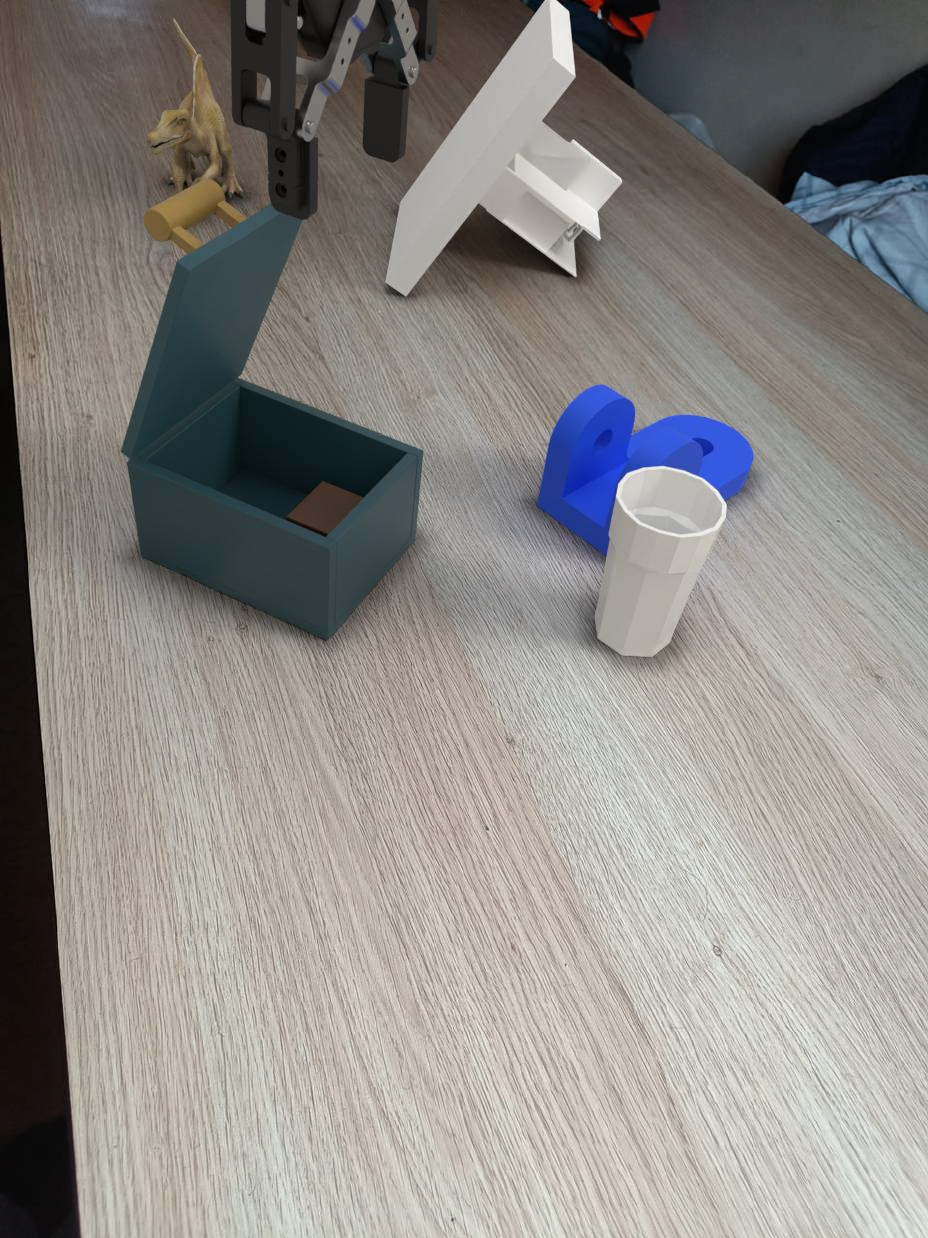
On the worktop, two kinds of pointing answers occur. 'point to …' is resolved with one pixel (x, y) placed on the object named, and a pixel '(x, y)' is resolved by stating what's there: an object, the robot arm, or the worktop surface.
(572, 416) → the bracket
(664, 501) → the cup
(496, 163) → the white tilted panel stand
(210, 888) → the worktop surface
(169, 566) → the box
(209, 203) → the lid
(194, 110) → the dinosaur figurine
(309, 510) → the block
